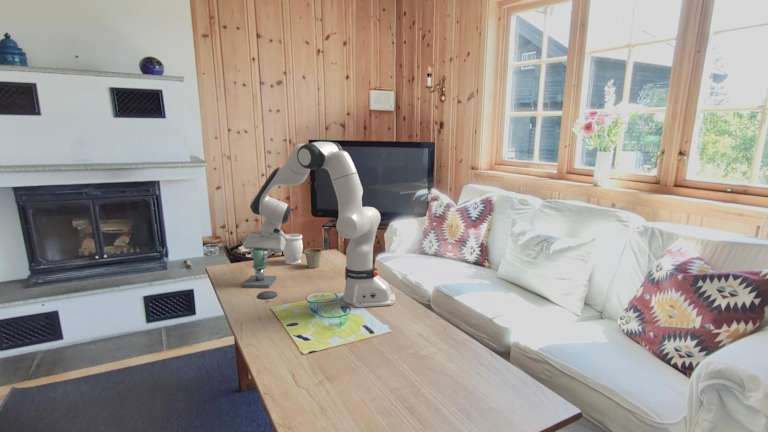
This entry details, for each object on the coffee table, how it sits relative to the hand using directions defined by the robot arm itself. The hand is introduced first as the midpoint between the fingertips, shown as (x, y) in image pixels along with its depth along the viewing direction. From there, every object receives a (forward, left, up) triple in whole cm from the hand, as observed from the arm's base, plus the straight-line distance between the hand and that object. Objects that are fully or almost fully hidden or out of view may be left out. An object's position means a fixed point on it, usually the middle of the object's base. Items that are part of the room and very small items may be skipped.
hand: (258, 258), depth 192 cm
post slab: (0, -1, -12) cm, 12 cm away
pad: (-8, +14, -12) cm, 21 cm away
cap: (0, -1, -5) cm, 5 cm away
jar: (-8, -33, -13) cm, 36 cm away
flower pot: (-20, -27, -13) cm, 36 cm away
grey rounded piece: (0, -1, -11) cm, 11 cm away
